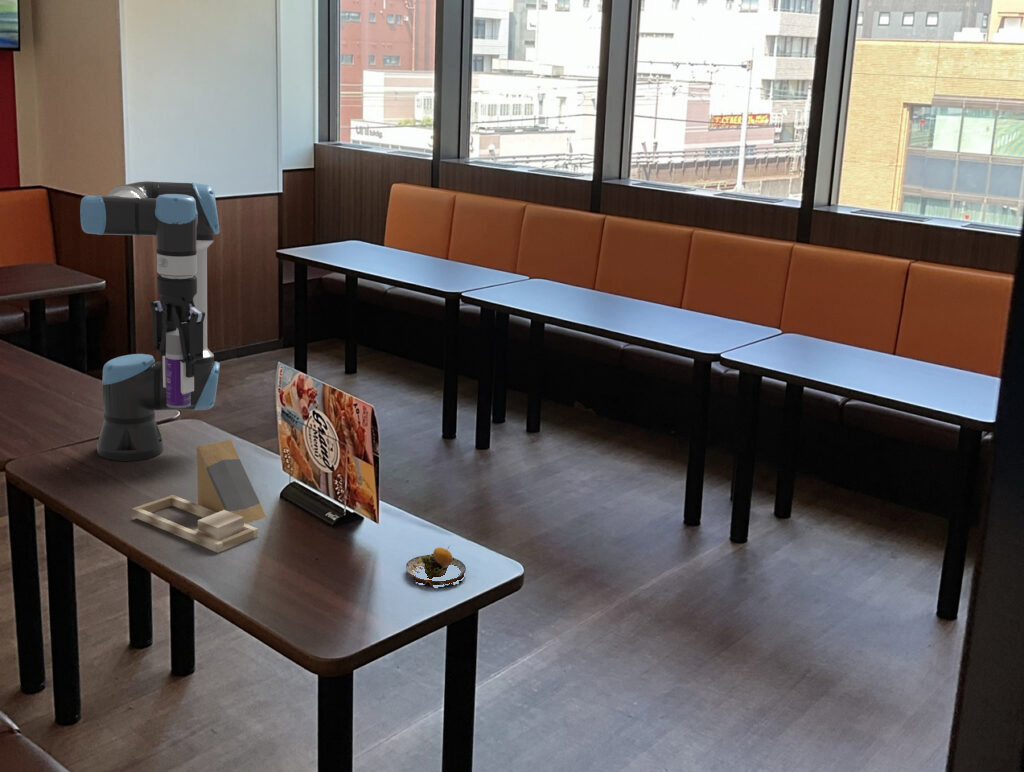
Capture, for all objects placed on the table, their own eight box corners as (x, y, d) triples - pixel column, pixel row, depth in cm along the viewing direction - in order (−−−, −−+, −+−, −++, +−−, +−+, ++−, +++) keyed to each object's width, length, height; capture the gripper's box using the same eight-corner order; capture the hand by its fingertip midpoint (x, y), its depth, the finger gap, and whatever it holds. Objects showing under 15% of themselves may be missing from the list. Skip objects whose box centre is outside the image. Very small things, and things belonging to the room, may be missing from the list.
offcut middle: (198, 538, 214) (198, 529, 213) (225, 527, 220) (225, 518, 219) (217, 546, 211) (217, 537, 210) (244, 535, 217) (244, 526, 216)
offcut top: (197, 529, 213) (197, 520, 213) (224, 518, 219) (224, 509, 218) (217, 537, 210) (217, 527, 210) (243, 526, 216) (243, 517, 216)
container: (161, 405, 217) (160, 333, 213) (176, 400, 221) (175, 328, 217) (180, 409, 216) (179, 336, 211) (195, 403, 220) (194, 332, 216)
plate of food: (434, 557, 218) (436, 522, 216) (478, 576, 211) (480, 541, 209) (391, 574, 209) (393, 539, 207) (436, 596, 202) (438, 559, 200)
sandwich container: (237, 535, 220) (237, 466, 216) (196, 512, 230) (195, 445, 226) (272, 525, 227) (273, 458, 223) (231, 502, 236) (231, 438, 232)
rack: (132, 521, 223) (131, 508, 222) (173, 507, 231) (172, 494, 230) (218, 558, 209) (217, 544, 208) (258, 542, 218) (258, 528, 217)
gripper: (131, 269, 213) (134, 383, 219) (192, 284, 203) (193, 402, 210) (162, 266, 219) (164, 376, 225) (223, 280, 209) (223, 394, 216)
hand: (178, 388), depth 217 cm, fingers closed on container, 5 cm apart
